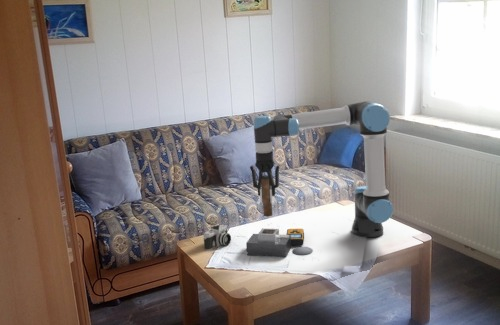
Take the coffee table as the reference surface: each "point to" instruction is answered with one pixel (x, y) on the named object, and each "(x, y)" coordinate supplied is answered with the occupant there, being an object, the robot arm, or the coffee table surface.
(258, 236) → the box
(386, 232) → the coffee table surface
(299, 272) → the coffee table surface
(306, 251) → the coaster
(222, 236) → the camera
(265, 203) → the brown cylinder with cap
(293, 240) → the electronic device
